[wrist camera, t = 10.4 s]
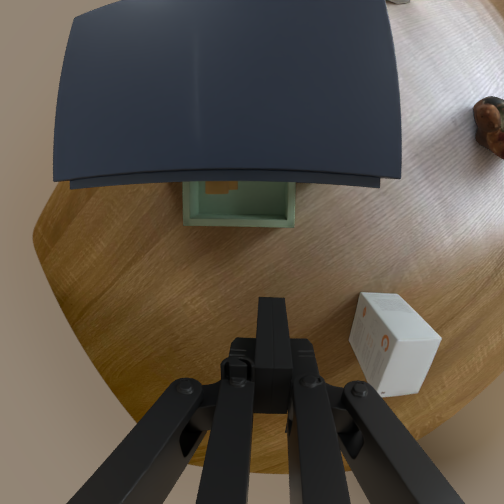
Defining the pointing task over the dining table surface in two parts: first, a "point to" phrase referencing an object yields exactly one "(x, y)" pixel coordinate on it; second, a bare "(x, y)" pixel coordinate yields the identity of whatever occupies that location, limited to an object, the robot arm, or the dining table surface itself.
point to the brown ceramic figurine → (490, 124)
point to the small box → (392, 344)
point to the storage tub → (240, 205)
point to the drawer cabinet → (229, 94)
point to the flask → (400, 1)
